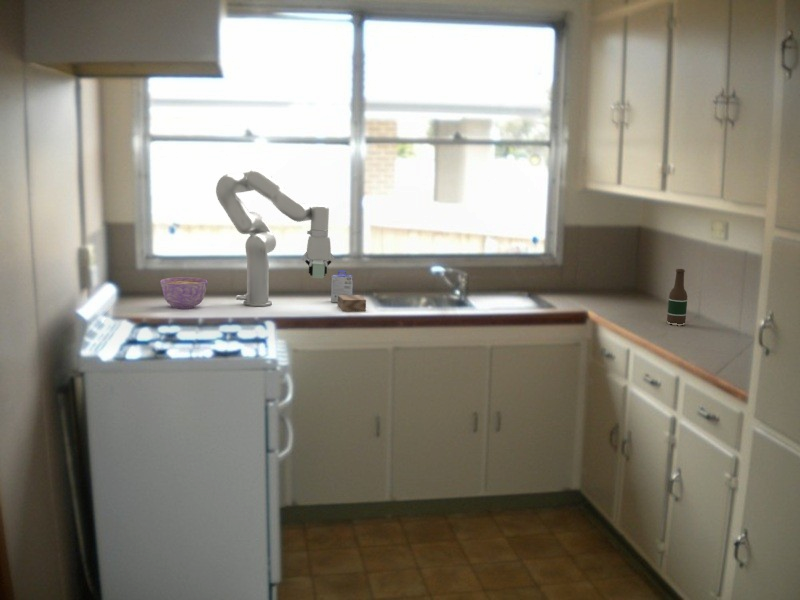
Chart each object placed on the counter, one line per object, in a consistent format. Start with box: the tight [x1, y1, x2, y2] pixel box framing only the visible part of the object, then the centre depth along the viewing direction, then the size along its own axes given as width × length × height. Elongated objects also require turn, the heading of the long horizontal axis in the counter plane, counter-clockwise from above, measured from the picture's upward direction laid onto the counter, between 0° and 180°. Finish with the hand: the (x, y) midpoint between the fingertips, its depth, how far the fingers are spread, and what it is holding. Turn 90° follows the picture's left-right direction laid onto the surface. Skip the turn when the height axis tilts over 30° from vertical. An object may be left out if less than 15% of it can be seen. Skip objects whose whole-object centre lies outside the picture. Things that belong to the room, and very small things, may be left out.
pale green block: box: [310, 262, 325, 279], centre depth 394 cm, size 5×5×6 cm
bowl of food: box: [159, 276, 209, 310], centre depth 389 cm, size 20×20×12 cm
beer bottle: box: [666, 268, 688, 324], centre depth 387 cm, size 8×8×24 cm
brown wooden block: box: [337, 294, 367, 312], centre depth 400 cm, size 10×13×5 cm
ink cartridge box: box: [330, 269, 354, 303], centre depth 416 cm, size 10×6×14 cm, turn 94°
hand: (317, 274), depth 394 cm, fingers closed on pale green block, 5 cm apart
